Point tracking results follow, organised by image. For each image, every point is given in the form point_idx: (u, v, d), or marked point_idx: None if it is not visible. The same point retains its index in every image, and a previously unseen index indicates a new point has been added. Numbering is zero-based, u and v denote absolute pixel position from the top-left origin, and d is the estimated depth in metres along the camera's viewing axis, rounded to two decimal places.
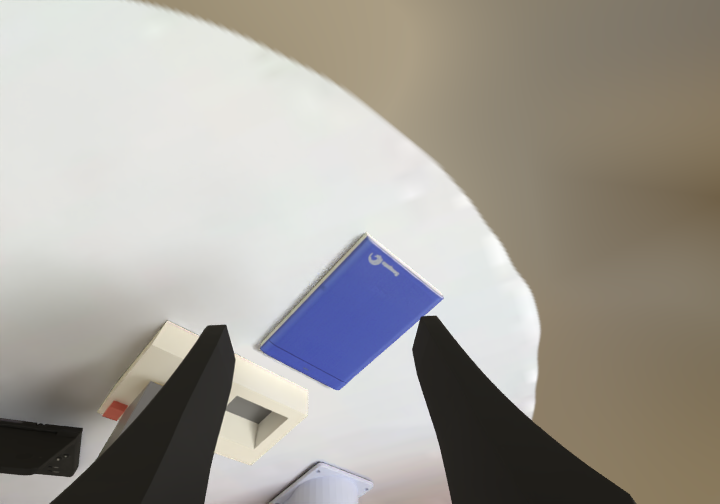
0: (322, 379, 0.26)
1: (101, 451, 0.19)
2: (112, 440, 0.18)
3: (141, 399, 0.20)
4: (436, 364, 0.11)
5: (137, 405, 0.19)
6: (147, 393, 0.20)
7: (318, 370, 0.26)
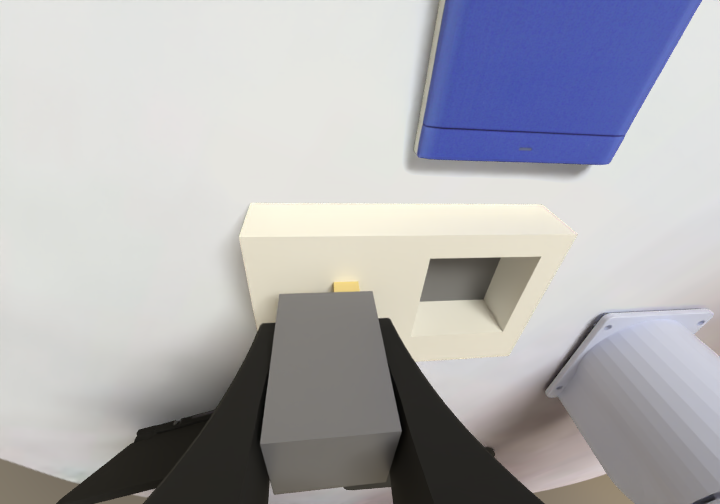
0: (568, 155, 0.12)
1: None
2: None
3: (277, 323, 0.10)
4: None
5: (275, 334, 0.10)
6: (283, 311, 0.11)
7: (553, 137, 0.12)
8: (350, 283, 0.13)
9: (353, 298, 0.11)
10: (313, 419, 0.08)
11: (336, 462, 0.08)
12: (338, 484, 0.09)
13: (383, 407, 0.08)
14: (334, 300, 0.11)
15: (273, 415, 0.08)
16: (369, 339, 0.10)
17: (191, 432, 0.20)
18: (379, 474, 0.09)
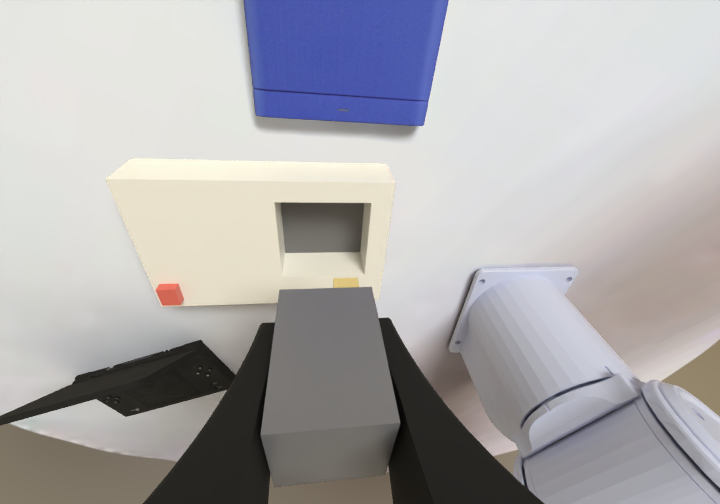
0: (382, 116, 0.15)
1: None
2: None
3: (277, 318, 0.10)
4: None
5: (275, 329, 0.10)
6: (283, 307, 0.11)
7: (364, 100, 0.15)
8: (349, 279, 0.13)
9: (352, 294, 0.12)
10: (313, 411, 0.08)
11: (335, 454, 0.09)
12: (337, 477, 0.10)
13: (382, 399, 0.08)
14: (334, 295, 0.11)
15: (274, 407, 0.08)
16: (368, 334, 0.10)
17: (117, 373, 0.23)
18: (378, 466, 0.09)
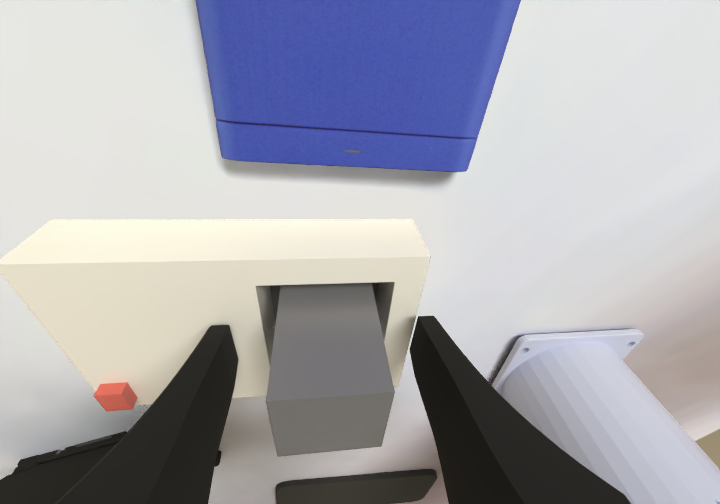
0: (409, 159, 0.10)
1: None
2: None
3: (280, 300, 0.11)
4: (433, 364, 0.11)
5: (279, 310, 0.11)
6: (286, 290, 0.11)
7: (384, 138, 0.10)
8: None
9: None
10: (314, 381, 0.09)
11: (335, 423, 0.09)
12: (336, 447, 0.10)
13: (378, 372, 0.09)
14: None
15: (278, 377, 0.09)
16: (366, 315, 0.11)
17: (65, 464, 0.18)
18: (375, 437, 0.10)
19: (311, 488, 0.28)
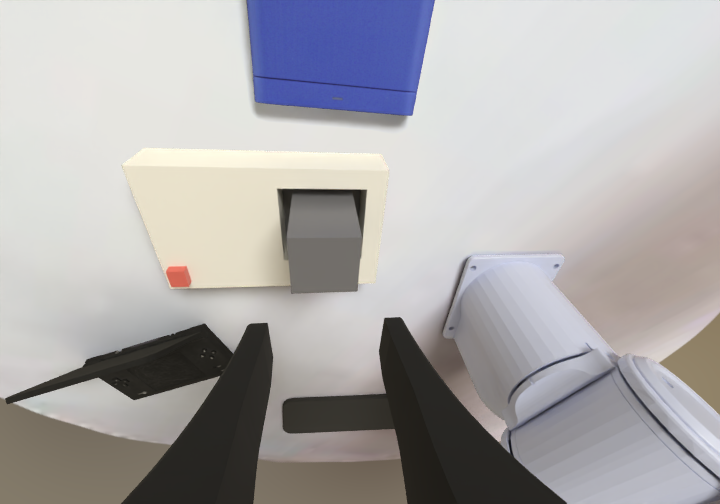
0: (373, 105, 0.16)
1: None
2: None
3: (292, 200, 0.17)
4: (395, 367, 0.10)
5: (291, 204, 0.17)
6: (295, 196, 0.17)
7: (357, 90, 0.16)
8: (338, 189, 0.19)
9: (339, 192, 0.18)
10: (314, 232, 0.15)
11: (327, 263, 0.15)
12: (328, 288, 0.16)
13: (353, 230, 0.15)
14: (327, 192, 0.18)
15: (293, 230, 0.15)
16: (347, 208, 0.17)
17: (126, 355, 0.24)
18: (353, 281, 0.16)
19: (312, 405, 0.34)
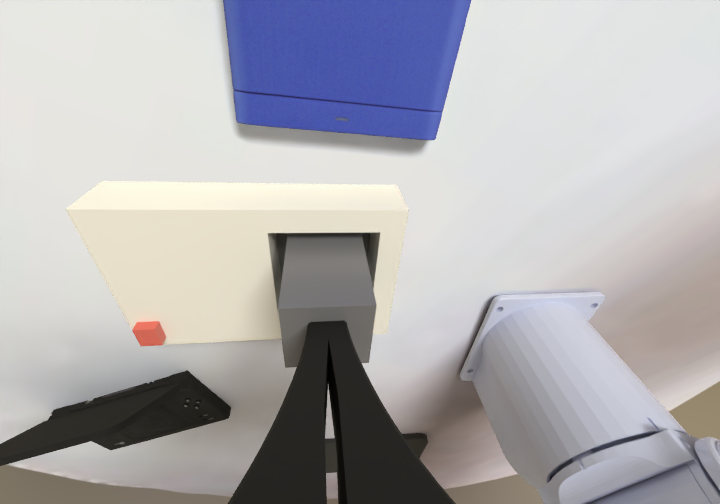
0: (387, 127, 0.13)
1: None
2: None
3: (287, 246, 0.14)
4: (331, 371, 0.10)
5: (286, 253, 0.13)
6: (291, 240, 0.14)
7: (367, 108, 0.12)
8: None
9: (345, 233, 0.15)
10: (314, 298, 0.11)
11: None
12: None
13: (364, 293, 0.12)
14: (330, 234, 0.15)
15: (287, 295, 0.11)
16: (356, 257, 0.13)
17: (95, 409, 0.21)
18: (363, 352, 0.13)
19: None
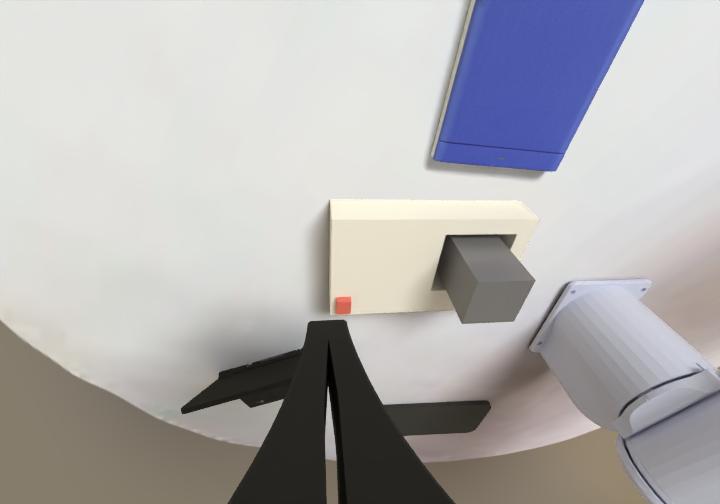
0: (528, 164, 0.19)
1: (451, 297, 0.21)
2: (460, 280, 0.19)
3: (456, 243, 0.20)
4: (331, 371, 0.10)
5: (457, 248, 0.20)
6: (455, 239, 0.20)
7: (519, 152, 0.19)
8: None
9: (486, 234, 0.21)
10: (495, 276, 0.18)
11: (500, 300, 0.18)
12: (492, 319, 0.19)
13: (523, 273, 0.18)
14: (477, 235, 0.21)
15: (477, 274, 0.18)
16: (504, 250, 0.20)
17: (263, 369, 0.27)
18: (513, 313, 0.19)
19: (398, 412, 0.37)
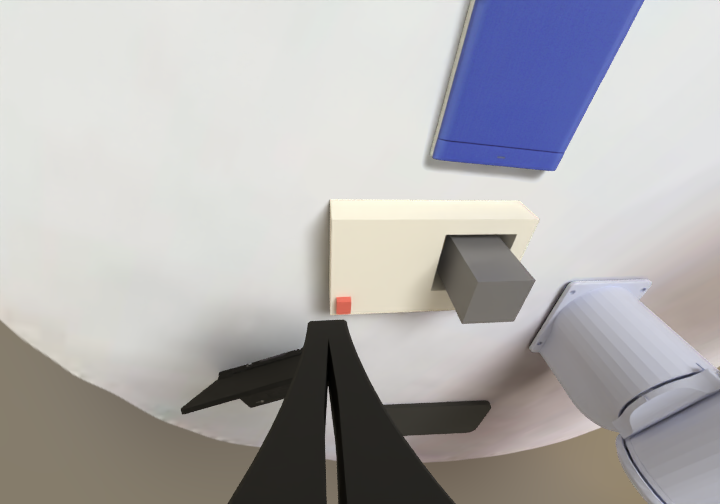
0: (528, 162, 0.19)
1: (451, 297, 0.21)
2: (460, 280, 0.19)
3: (456, 243, 0.20)
4: (331, 371, 0.10)
5: (457, 248, 0.20)
6: (455, 239, 0.20)
7: (518, 151, 0.19)
8: None
9: (486, 234, 0.21)
10: (495, 276, 0.18)
11: (500, 300, 0.18)
12: (492, 319, 0.19)
13: (523, 273, 0.18)
14: (477, 235, 0.21)
15: (477, 274, 0.18)
16: (504, 250, 0.20)
17: (263, 369, 0.27)
18: (513, 313, 0.19)
19: (398, 412, 0.37)
